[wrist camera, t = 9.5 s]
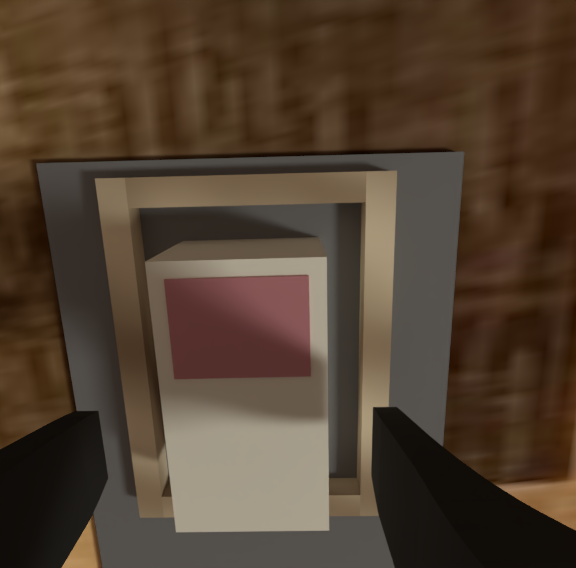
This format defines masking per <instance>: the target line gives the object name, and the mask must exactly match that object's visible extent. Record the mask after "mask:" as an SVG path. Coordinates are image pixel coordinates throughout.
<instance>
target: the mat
mask: <svg viewBox="0 0 576 568" xmlns="http://www.w3.org/2000/svg"><path fill="white" fill-rule="evenodd" d="M463 162H464V152H432V153H395V154H358V155H322V156H285V157H249V158H212V159H176V160H139V161H103V162H66V163H36V166H37V172H38V178H39V184H40V190H41V196H42V202H43V208H44V214H45V221H46V227H47V233H48V239H49V245H50V251H51V257H52V263H53V269H54V276H55V282H56V288H57V294H58V300H59V306H60V312H61V318H62V324H63V330H64V337H65V343H66V349H67V355H68V361H69V367H70V373H71V379H72V385H73V391H74V398H75V404H76V410H77V411H99V418H100V424H101V431H102V438H103V445H104V452H105V458H106V465H107V472H108V480H107V483H106V485H105V487H104V490H103V492H102V495H101V497H100V499H99V502H98V504H97V506H96V508H95V510H94V513H93V514H94V520H95V526H96V532H97V538H98V544H99V550H100V556H101V562H102V568H395V567H394V564H393V560H392V557H391V554H390V551H389V547H388V544H387V541H386V538H385V534H384V531H383V528H382V525H381V521H380V518H379V516H329V531H251V532H176V528H175V519H174V517H168V518H140V516H139V508H138V501H137V493H136V486H135V478H134V471H133V463H132V455H131V448H130V440H129V433H128V425H127V418H126V410H125V403H124V395H123V387H122V380H121V372H120V365H119V357H118V350H117V342H116V335H115V327H114V320H113V312H112V304H111V297H110V289H109V282H108V274H107V267H106V259H105V252H104V244H103V236H102V229H101V221H100V214H99V206H98V199H97V191H96V184H95V179H97V178H134V177H172V176H210V175H248V174H286V173H324V172H361V171H397V190H396V218H395V246H394V273H393V301H392V328H391V356H390V384H389V407H397V408H399V409H400V410H401V411H402V412H403V413H405V414H406V415H407V416H408V417H409V418H410V419H411V420H412V421H413V422H415V423H416V424H417V425H418V426H419V427H420V428H421V429H422V430H424V431H425V432H426V433H427V434H428V435H429V436H431V437H432V438H433V439H434V440H435V441H436V442H438V443H439V444H440V445H441V446H442V447H443V437H444V423H445V409H446V396H447V382H448V368H449V354H450V341H451V327H452V313H453V299H454V286H455V272H456V258H457V244H458V231H459V217H460V203H461V189H462V176H463ZM139 212H140V221H141V231H142V240H143V249H144V258H145V261H147V260H149V259H151V258H153V257H155V256H156V255H158V254H160V253H162V252H164V251H165V250H167V249H169V248H171V247H173V246H175V245H176V244H178V243H180V242H182V241H201V240H236V239H271V238H306V237H319V239H320V241H321V244H322V246H323V249H324V251H325V254H326V256H327V335H328V449H329V478H357V434H358V374H359V314H360V254H361V203H322V204H281V205H241V206H201V207H160V208H139ZM149 304H150V303H149ZM150 313H151V311H150ZM151 322H152V320H151ZM152 331H153V329H152ZM153 340H154V337H153ZM154 349H155V346H154ZM155 358H156V355H155ZM156 367H157V363H156ZM157 377H158V372H157ZM158 386H159V381H158ZM159 395H160V389H159ZM160 404H161V398H160ZM161 413H162V407H161ZM162 422H163V415H162ZM163 431H164V424H163ZM164 440H165V433H164ZM165 450H166V441H165ZM166 459H167V450H166ZM167 468H168V477H169V480H170V476H169V467H168V459H167Z"/></svg>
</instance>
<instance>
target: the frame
mask: <svg viewBox="0 0 576 568" xmlns="http://www.w3.org/2000/svg"><path fill="white" fill-rule="evenodd" d="M95 184H96V191H97V199H98V206H99V214H100V221H101V229H102V236H103V244H104V252H105V259H106V267H107V274H108V282H109V289H110V297H111V304H112V312H113V320H114V327H115V335H116V342H117V350H118V357H119V365H120V372H121V380H122V387H123V395H124V403H125V410H126V418H127V425H128V433H129V440H130V448H131V455H132V463H133V471H134V478H135V486H136V493H137V501H138V508H139V516H140V518H168V517H174V511H173V502H172V493H171V485H170V480H169V477H168V468H167V459H166V450H165V440H164V431H163V422H162V413H161V404H160V395H159V386H158V377H157V367H156V358H155V349H154V340H153V331H152V322H151V313H150V304H149V294H148V285H147V277H146V268H145V258H144V249H143V240H142V231H141V221H140V212H139V208H160V207H201V206H241V205H281V204H322V203H361V254H360V314H359V374H358V434H357V478H329V516H379V514H378V510H377V505H376V499H375V494H374V488H373V483H372V477H371V464H372V425H373V407H389V384H390V356H391V328H392V301H393V273H394V246H395V218H396V190H397V171H361V172H324V173H286V174H248V175H210V176H172V177H134V178H97V179H95Z"/></svg>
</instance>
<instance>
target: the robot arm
mask: <svg viewBox="0 0 576 568" xmlns="http://www.w3.org/2000/svg"><path fill="white" fill-rule="evenodd" d="M371 477H372V483H373V488H374V494H375V499H376V505H377V510H378V514H379V518H380V521H381V525H382V528H383V531H384V534H385V538H386V541H387V544H388V547H389V551H390V554H391V557H392V560H393V564H394V567H395V568H576V531H575V530H573V529H571V528H569V527H567V526H566V525H564V524H562V523H560V522H558V521H556V520H554V519H552V518H550V517H548V516H547V515H545V514H543V513H541V512H539V511H537V510H535V509H534V508H532V507H530V506H528V505H527V504H525V503H523V502H521V501H520V500H518V499H516V498H515V497H513V496H512V495H510V494H508V493H507V492H505V491H504V490H502V489H500V488H499V487H497V486H496V485H494V484H493V483H491V482H490V481H488V480H487V479H485V478H484V477H482V476H481V475H479V474H478V473H477V472H475V471H474V470H472V469H471V468H470V467H468V466H467V465H466V464H464V463H463V462H462V461H460V460H459V459H458V458H456V457H455V456H454V455H452V454H451V453H450V452H449V451H447V450H446V449H445V448H444V447H442V446H441V445H440V444H439V443H438V442H436V441H435V440H434V439H433V438H432V437H431V436H429V435H428V434H427V433H426V432H425V431H424V430H422V429H421V428H420V427H419V426H418V425H417V424H416V423H415V422H413V421H412V420H411V419H410V418H409V417H408V416H407V415H406V414H405V413H403V412H402V411H401V410H400V409H399V408H397V407H373V425H372V464H371ZM107 480H108V472H107V465H106V458H105V452H104V445H103V438H102V431H101V424H100V418H99V411H75V412H72V413H70V414H67V415H65V416H63V417H61V418H59V419H57V420H55V421H53V422H51V423H49V424H47V425H45V426H43V427H42V428H40V429H38V430H36V431H34V432H32V433H30V434H28V435H27V436H25V437H23V438H21V439H19V440H17V441H15V442H14V443H12V444H10V445H8V446H6V447H4V448H2V449H1V450H0V568H61V567H62V566H63V564H64V562H65V561H66V559H67V557H68V556H69V554H70V552H71V551H72V549H73V547H74V546H75V544H76V542H77V541H78V539H79V537H80V536H81V534H82V532H83V531H84V529H85V527H86V525H87V524H88V522H89V520H90V518H91V517H92V515H93V513H94V510H95V508H96V506H97V504H98V502H99V499H100V497H101V495H102V492H103V490H104V487H105V485H106V483H107Z"/></svg>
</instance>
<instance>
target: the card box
mask: <svg viewBox="0 0 576 568" xmlns="http://www.w3.org/2000/svg"><path fill="white" fill-rule="evenodd" d="M145 268H146V277H147V285H148V294H149V303H150V311H151V320H152V329H153V337H154V346H155V355H156V363H157V372H158V381H159V389H160V398H161V407H162V415H163V424H164V433H165V441H166V450H167V459H168V467H169V476H170V485H171V493H172V502H173V511H174V519H175V528H176V532H251V531H329V449H328V335H327V256H326V254H325V251H324V249H323V246H322V244H321V241H320V239H319V237H306V238H271V239H236V240H201V241H182V242H180V243H178V244H176V245H175V246H173V247H171V248H169V249H167V250H165V251H164V252H162V253H160V254H158V255H156V256H155V257H153V258H151V259H149V260H147V261H145Z"/></svg>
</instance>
